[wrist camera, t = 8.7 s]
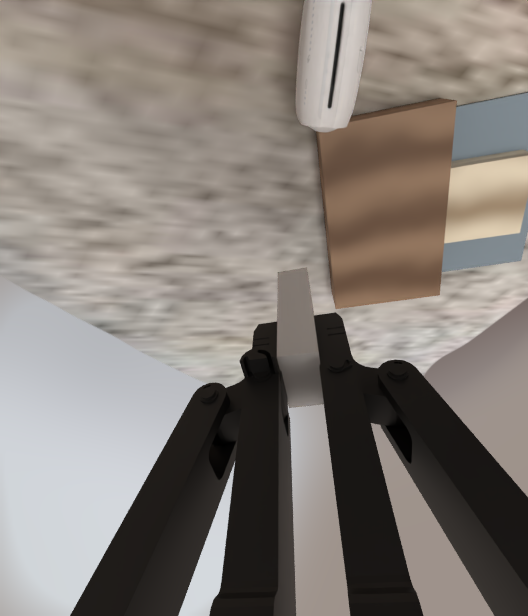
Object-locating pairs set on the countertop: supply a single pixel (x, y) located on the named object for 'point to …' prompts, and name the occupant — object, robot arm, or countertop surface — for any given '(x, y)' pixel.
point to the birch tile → (487, 196)
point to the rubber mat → (480, 142)
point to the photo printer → (330, 61)
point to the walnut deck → (387, 202)
